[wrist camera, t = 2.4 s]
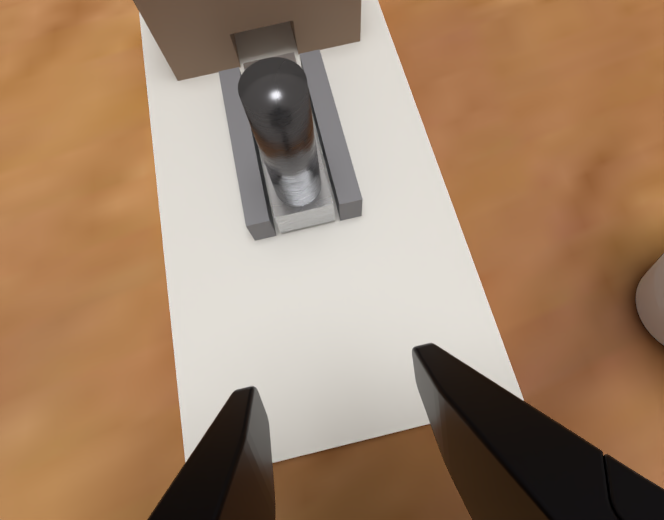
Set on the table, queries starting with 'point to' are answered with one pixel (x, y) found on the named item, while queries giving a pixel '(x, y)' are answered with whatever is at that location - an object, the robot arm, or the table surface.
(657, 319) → the cup
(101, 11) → the table surface
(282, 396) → the base
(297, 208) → the bolt
